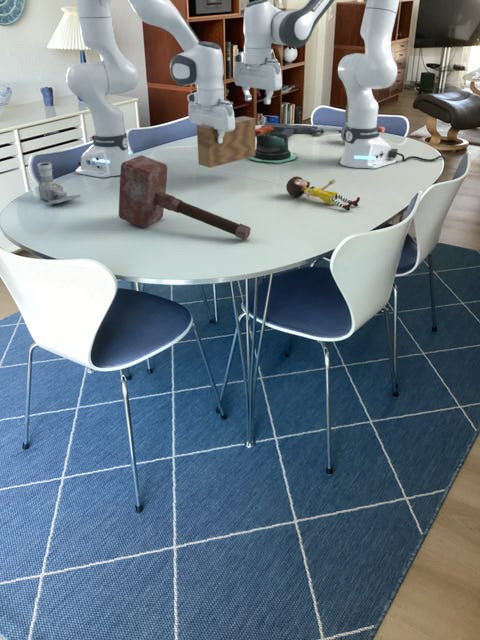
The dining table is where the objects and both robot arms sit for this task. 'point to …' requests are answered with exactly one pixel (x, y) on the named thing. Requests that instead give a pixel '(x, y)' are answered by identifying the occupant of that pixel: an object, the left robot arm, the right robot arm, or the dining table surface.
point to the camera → (51, 186)
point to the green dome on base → (272, 148)
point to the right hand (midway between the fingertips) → (257, 102)
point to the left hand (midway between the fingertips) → (212, 141)
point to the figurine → (317, 192)
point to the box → (226, 143)
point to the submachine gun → (288, 129)
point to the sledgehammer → (160, 198)
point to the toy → (343, 132)
